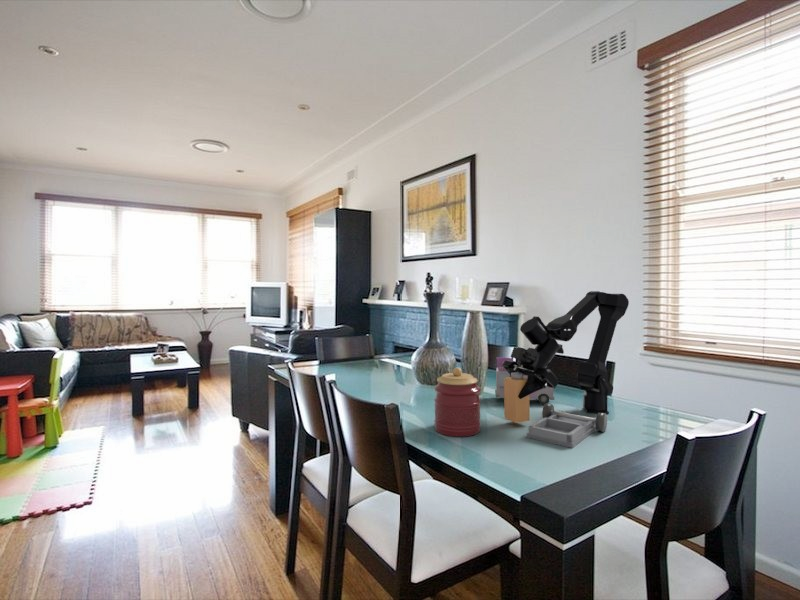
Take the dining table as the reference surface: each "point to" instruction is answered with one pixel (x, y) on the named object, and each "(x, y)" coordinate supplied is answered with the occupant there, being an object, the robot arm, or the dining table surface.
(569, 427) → the chassis
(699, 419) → the dining table surface
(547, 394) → the toy vehicle
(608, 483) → the dining table surface
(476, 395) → the canister
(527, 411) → the block with grey dome
